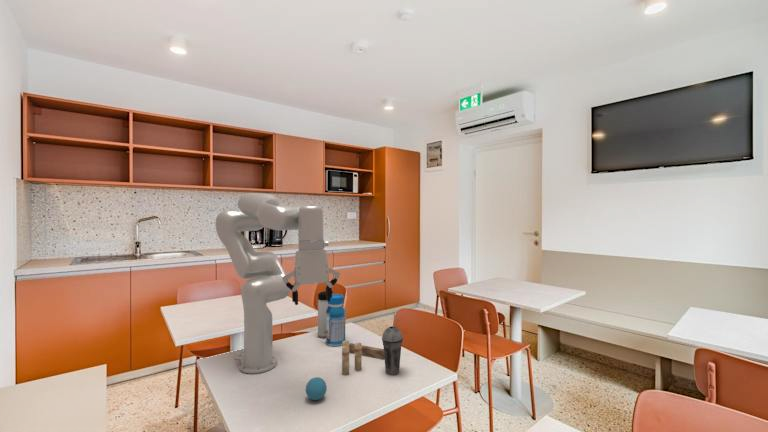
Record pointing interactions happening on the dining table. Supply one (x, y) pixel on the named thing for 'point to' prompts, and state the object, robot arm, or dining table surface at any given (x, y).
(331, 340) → the beverage bottle
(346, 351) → the pin front
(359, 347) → the pin
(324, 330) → the travel mug
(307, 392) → the ball
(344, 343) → the pin
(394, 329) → the beverage cup
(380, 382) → the dining table surface
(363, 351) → the back rail
